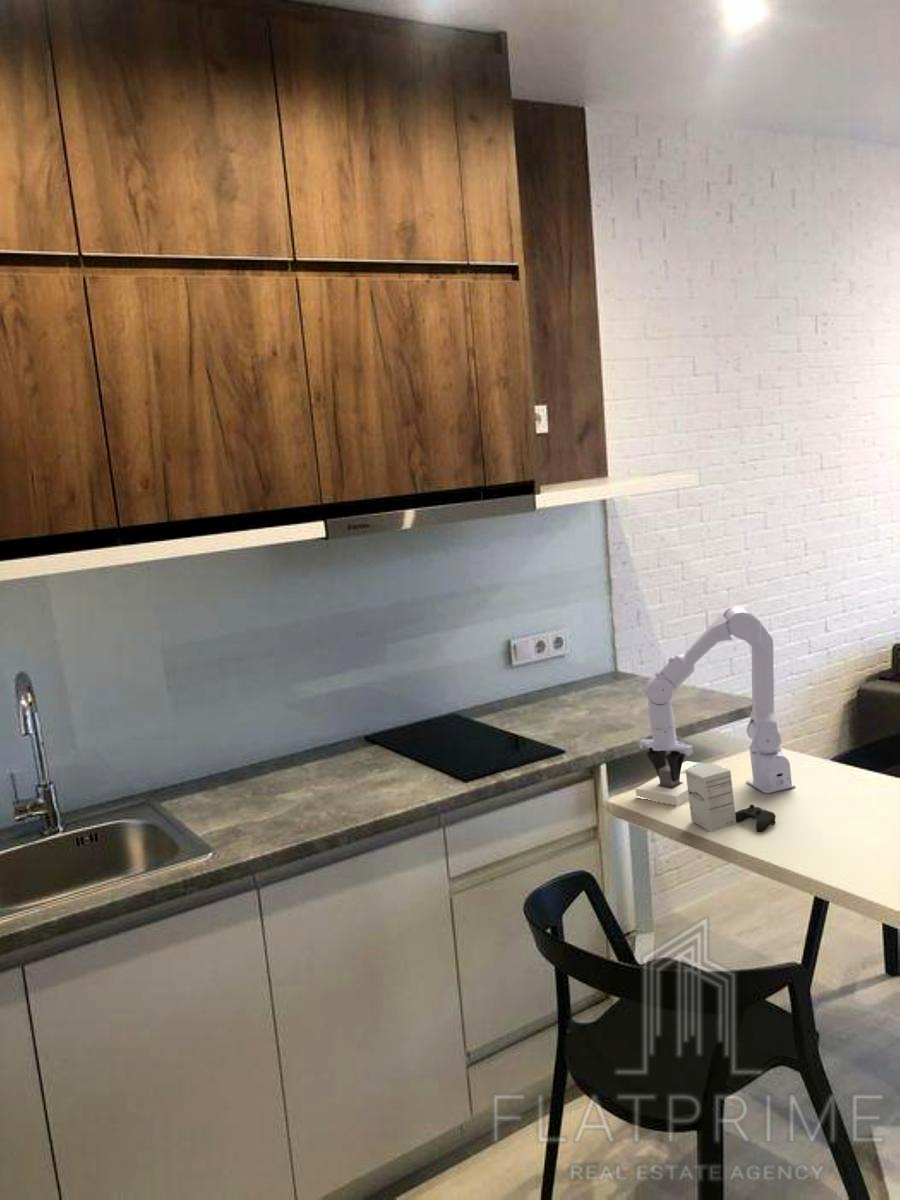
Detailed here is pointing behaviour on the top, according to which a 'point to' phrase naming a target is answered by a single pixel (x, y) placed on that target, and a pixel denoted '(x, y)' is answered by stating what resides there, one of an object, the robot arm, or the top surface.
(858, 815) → the top surface
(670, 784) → the plug
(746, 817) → the game controller
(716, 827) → the supplement box
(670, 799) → the panel
